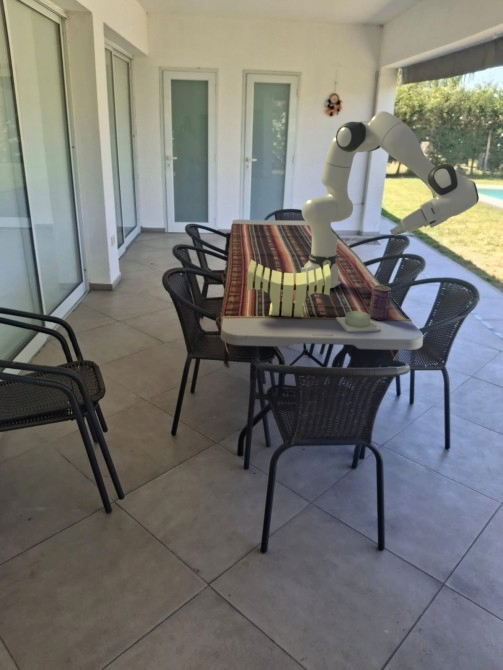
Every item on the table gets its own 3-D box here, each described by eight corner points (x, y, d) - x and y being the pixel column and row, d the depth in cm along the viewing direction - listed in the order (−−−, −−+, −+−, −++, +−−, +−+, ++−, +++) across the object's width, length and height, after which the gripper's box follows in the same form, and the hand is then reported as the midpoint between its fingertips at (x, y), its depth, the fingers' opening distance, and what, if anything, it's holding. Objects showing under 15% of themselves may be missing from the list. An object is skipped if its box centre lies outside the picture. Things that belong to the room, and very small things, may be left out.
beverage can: (384, 314, 190) (389, 285, 186) (389, 321, 184) (394, 291, 179) (366, 314, 190) (370, 284, 185) (371, 320, 184) (375, 290, 179)
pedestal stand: (336, 319, 184) (337, 309, 182) (366, 318, 186) (367, 309, 184) (347, 331, 173) (348, 322, 171) (379, 330, 175) (380, 321, 173)
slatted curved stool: (246, 316, 183) (247, 270, 176) (249, 302, 198) (251, 259, 190) (326, 321, 181) (331, 275, 174) (324, 306, 196) (328, 263, 189)
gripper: (428, 209, 177) (392, 227, 183) (424, 202, 159) (384, 223, 164) (435, 224, 177) (399, 242, 183) (432, 220, 159) (392, 240, 164)
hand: (392, 233), depth 173 cm, fingers open, 8 cm apart
